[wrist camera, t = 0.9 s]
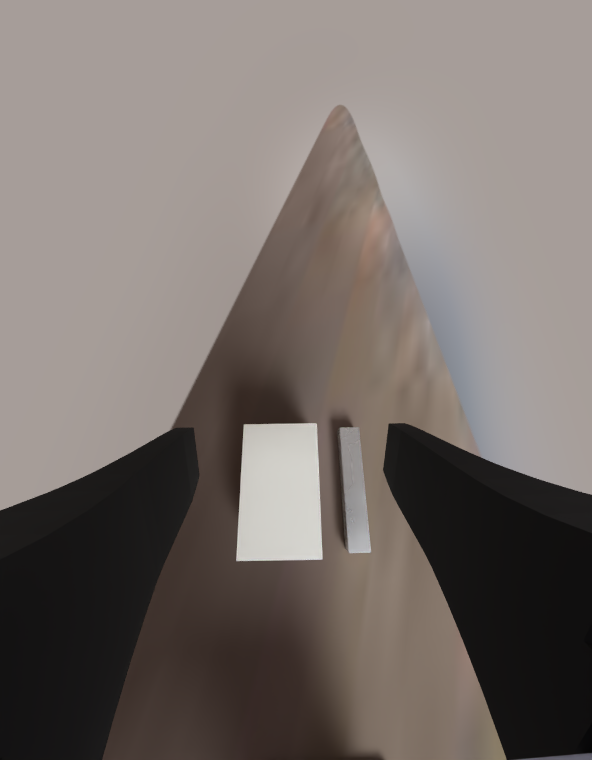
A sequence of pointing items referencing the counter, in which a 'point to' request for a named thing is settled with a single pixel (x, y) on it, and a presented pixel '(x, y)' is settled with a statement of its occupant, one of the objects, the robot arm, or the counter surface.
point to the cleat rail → (353, 491)
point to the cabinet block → (279, 493)
